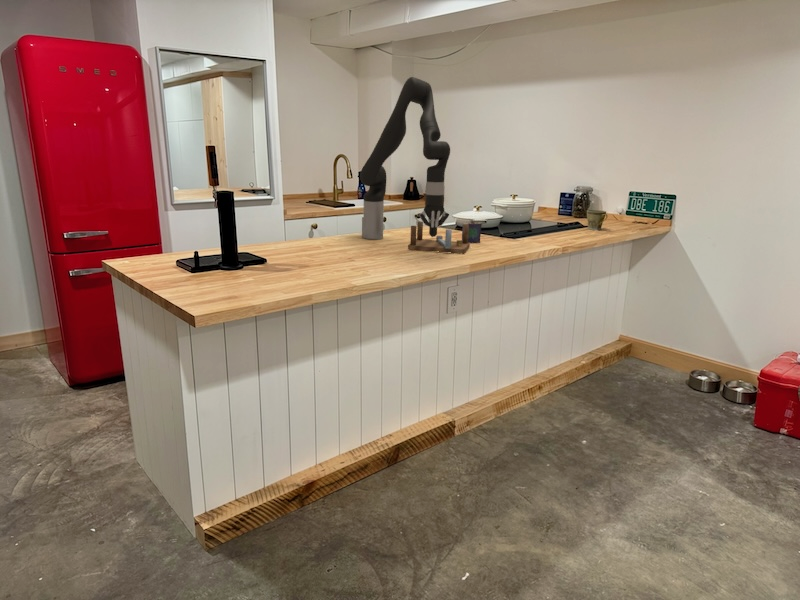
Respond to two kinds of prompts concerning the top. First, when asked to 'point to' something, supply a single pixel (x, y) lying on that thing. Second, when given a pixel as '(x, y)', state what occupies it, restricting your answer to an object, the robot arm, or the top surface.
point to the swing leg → (447, 239)
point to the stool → (435, 245)
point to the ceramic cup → (595, 219)
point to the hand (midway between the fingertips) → (433, 236)
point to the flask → (473, 232)
